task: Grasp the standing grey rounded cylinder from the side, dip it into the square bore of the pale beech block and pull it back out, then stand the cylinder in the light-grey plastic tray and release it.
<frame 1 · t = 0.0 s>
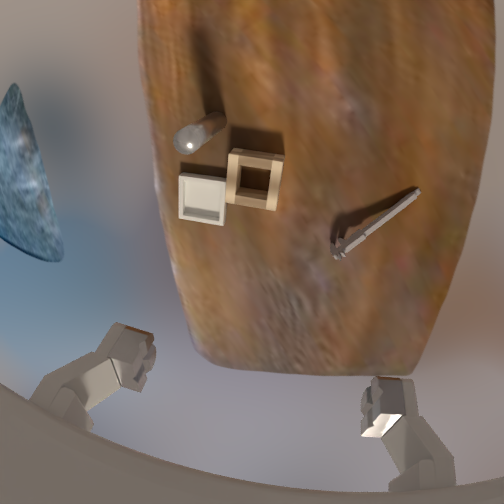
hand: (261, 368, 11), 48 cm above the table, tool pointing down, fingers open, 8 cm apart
grey rounded cylinder: (216, 121, 53), on the table
bore block: (256, 174, 58), on the table
caliper: (374, 217, 58), on the table
tray: (204, 196, 62), on the table
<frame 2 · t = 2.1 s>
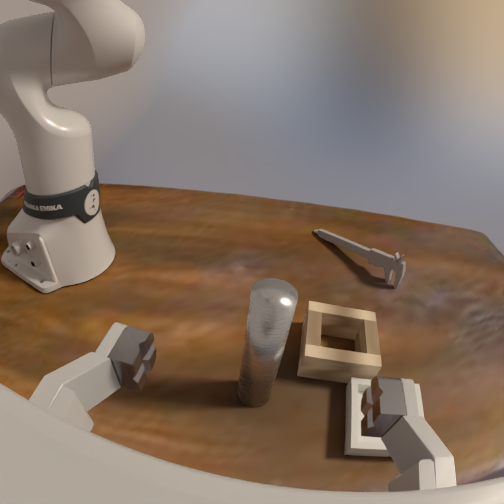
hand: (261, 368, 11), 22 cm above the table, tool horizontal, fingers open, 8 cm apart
grey rounded cylinder: (253, 393, 33), on the table
bore block: (334, 352, 39), on the table
caliper: (352, 259, 58), on the table
tray: (382, 421, 31), on the table
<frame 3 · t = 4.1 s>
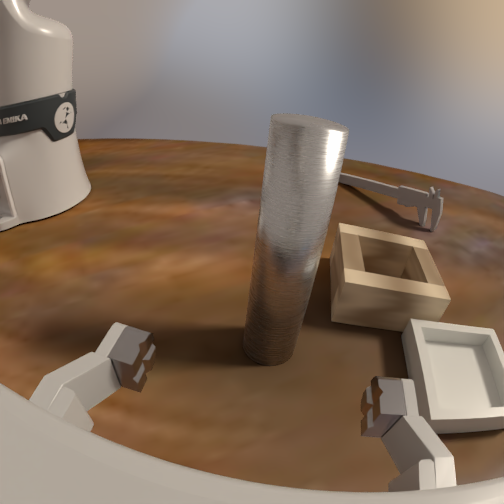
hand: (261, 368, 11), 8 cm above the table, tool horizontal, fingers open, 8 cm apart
grey rounded cylinder: (268, 345, 22), on the table
bore block: (377, 293, 28), on the table
caliper: (377, 203, 47), on the table
tray: (457, 382, 20), on the table
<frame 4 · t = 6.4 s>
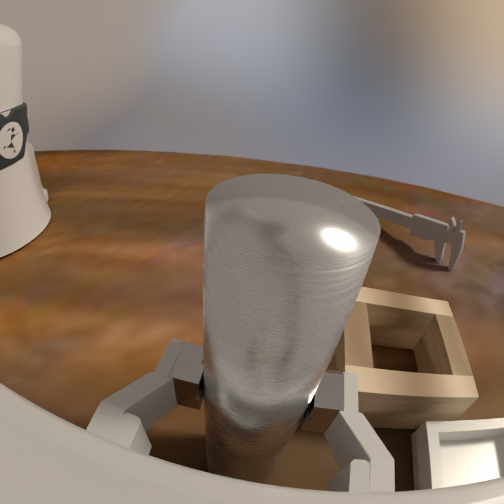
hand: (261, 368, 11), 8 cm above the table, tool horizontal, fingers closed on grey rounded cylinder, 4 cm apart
grey rounded cylinder: (240, 462, 15), on the table, touching gripper
bore block: (386, 374, 21), on the table
caliper: (386, 232, 40), on the table
tray: (470, 489, 12), on the table
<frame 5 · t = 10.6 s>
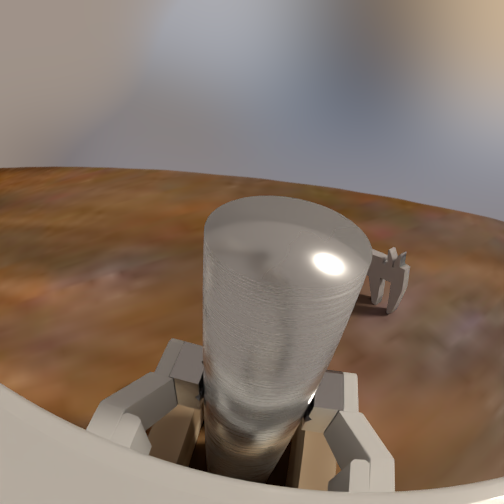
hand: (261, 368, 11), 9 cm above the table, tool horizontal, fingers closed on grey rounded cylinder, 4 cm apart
grey rounded cylinder: (238, 466, 15), point 1 cm above the table, touching gripper
bore block: (238, 467, 16), on the table
caliper: (316, 261, 34), on the table
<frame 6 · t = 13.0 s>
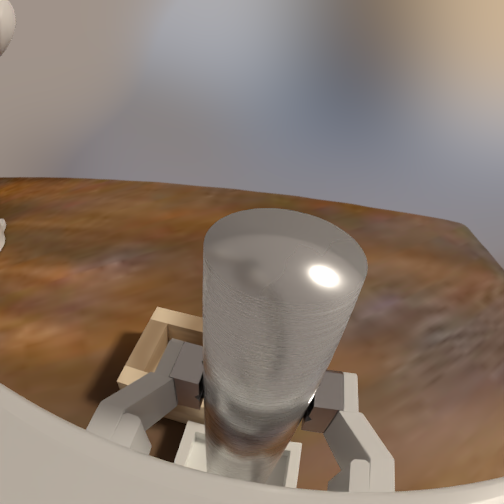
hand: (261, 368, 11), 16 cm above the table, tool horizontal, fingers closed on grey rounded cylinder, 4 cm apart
grey rounded cylinder: (238, 467, 15), point 7 cm above the table, touching gripper
bore block: (189, 380, 28), on the table
tray: (231, 490, 20), on the table
when the fingers open (10 cm above the table, at t = 14.7 s): grey rounded cylinder stays where it is, resting on tray.
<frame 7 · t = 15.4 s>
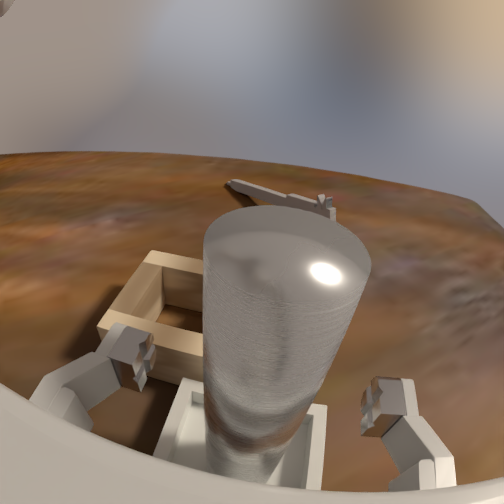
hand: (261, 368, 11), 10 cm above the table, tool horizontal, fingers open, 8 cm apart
grey rounded cylinder: (238, 468, 15), point 1 cm above the table, touching tray
bore block: (186, 335, 24), on the table
caliper: (270, 214, 43), on the table
tray: (237, 469, 16), on the table
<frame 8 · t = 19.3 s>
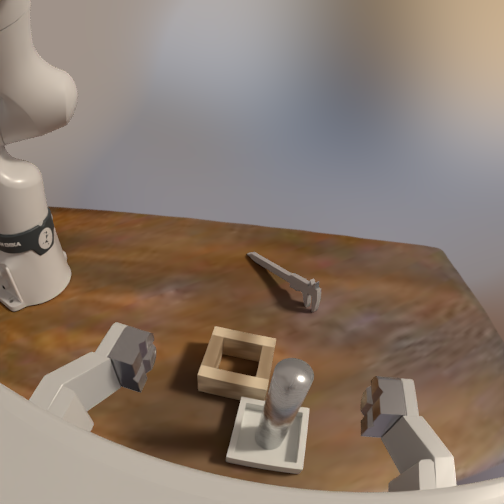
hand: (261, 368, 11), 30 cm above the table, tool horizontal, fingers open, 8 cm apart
grey rounded cylinder: (269, 437, 36), point 1 cm above the table, touching tray
bore block: (237, 372, 45), on the table
caliper: (278, 282, 64), on the table
tray: (268, 438, 36), on the table
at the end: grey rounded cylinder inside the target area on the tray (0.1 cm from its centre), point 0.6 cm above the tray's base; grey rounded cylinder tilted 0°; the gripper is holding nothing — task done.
